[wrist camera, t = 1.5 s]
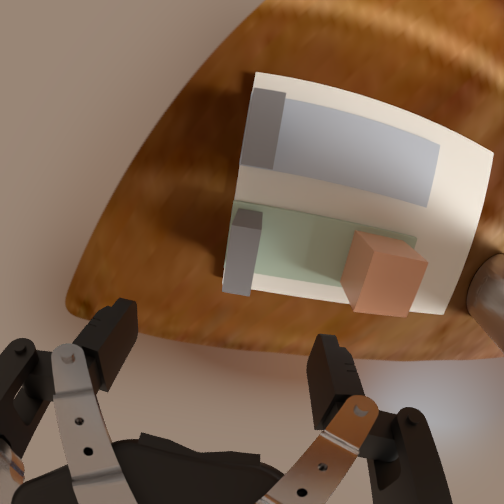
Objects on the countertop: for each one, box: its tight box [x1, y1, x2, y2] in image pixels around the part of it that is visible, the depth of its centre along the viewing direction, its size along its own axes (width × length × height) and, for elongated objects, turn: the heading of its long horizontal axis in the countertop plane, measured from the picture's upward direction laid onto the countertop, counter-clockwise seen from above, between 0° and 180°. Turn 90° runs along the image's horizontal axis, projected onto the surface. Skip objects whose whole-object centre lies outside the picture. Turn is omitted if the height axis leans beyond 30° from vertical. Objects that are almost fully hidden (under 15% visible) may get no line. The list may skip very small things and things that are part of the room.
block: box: [340, 230, 429, 317], centre depth 22 cm, size 5×5×5 cm
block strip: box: [222, 200, 417, 296], centre depth 23 cm, size 17×6×6 cm, turn 81°
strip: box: [239, 87, 440, 208], centre depth 19 cm, size 17×6×6 cm, turn 81°
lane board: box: [222, 72, 494, 315], centre depth 24 cm, size 25×19×1 cm
